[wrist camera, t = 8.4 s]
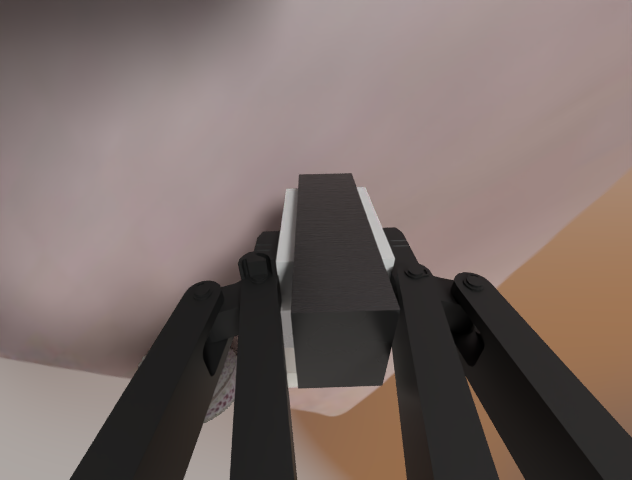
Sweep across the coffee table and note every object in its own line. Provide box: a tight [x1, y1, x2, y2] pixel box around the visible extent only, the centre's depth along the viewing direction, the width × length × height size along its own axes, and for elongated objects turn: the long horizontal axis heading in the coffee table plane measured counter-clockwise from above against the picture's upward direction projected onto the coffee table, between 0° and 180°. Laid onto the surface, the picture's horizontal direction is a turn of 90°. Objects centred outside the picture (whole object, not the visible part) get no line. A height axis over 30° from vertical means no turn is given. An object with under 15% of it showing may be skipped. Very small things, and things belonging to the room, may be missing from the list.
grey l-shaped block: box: [281, 173, 400, 388], centre depth 16 cm, size 7×15×10 cm, turn 1°
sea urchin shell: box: [138, 349, 237, 423], centre depth 35 cm, size 13×14×8 cm
